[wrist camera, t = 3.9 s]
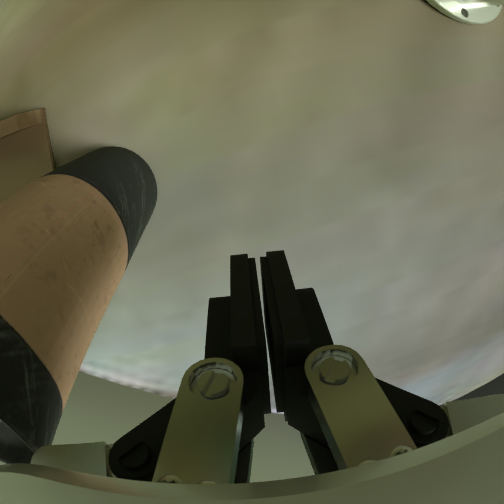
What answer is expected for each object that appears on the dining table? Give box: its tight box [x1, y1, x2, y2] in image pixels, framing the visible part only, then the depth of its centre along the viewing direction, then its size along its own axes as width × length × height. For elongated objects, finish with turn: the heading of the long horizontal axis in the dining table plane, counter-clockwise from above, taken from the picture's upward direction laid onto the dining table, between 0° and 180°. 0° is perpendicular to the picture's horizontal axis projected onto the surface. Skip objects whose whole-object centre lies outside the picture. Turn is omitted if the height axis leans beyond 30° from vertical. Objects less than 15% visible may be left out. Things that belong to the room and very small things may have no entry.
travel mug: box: [0, 147, 157, 464], centre depth 14 cm, size 8×8×20 cm
